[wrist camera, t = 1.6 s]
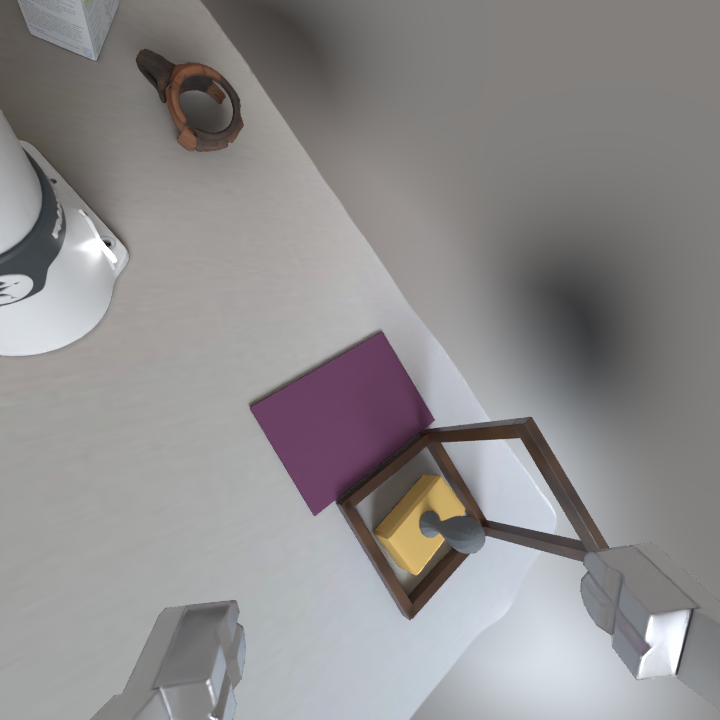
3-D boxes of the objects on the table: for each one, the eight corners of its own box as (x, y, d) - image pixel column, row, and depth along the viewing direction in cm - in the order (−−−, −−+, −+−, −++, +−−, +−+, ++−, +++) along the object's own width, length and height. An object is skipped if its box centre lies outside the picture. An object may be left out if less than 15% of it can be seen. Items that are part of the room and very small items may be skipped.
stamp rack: (334, 501, 42) (417, 528, 26) (425, 429, 49) (531, 416, 34) (403, 617, 42) (525, 710, 27) (484, 527, 49) (617, 560, 34)
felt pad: (249, 407, 41) (249, 407, 40) (381, 332, 50) (382, 331, 50) (313, 515, 41) (314, 516, 40) (433, 420, 50) (435, 420, 50)
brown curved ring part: (245, 111, 50) (260, 91, 43) (217, 176, 51) (228, 167, 44) (149, 40, 43) (149, 4, 36) (119, 116, 44) (114, 95, 37)
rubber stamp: (400, 568, 43) (468, 605, 33) (371, 531, 43) (430, 556, 32) (449, 506, 48) (522, 521, 37) (423, 472, 47) (489, 477, 37)
